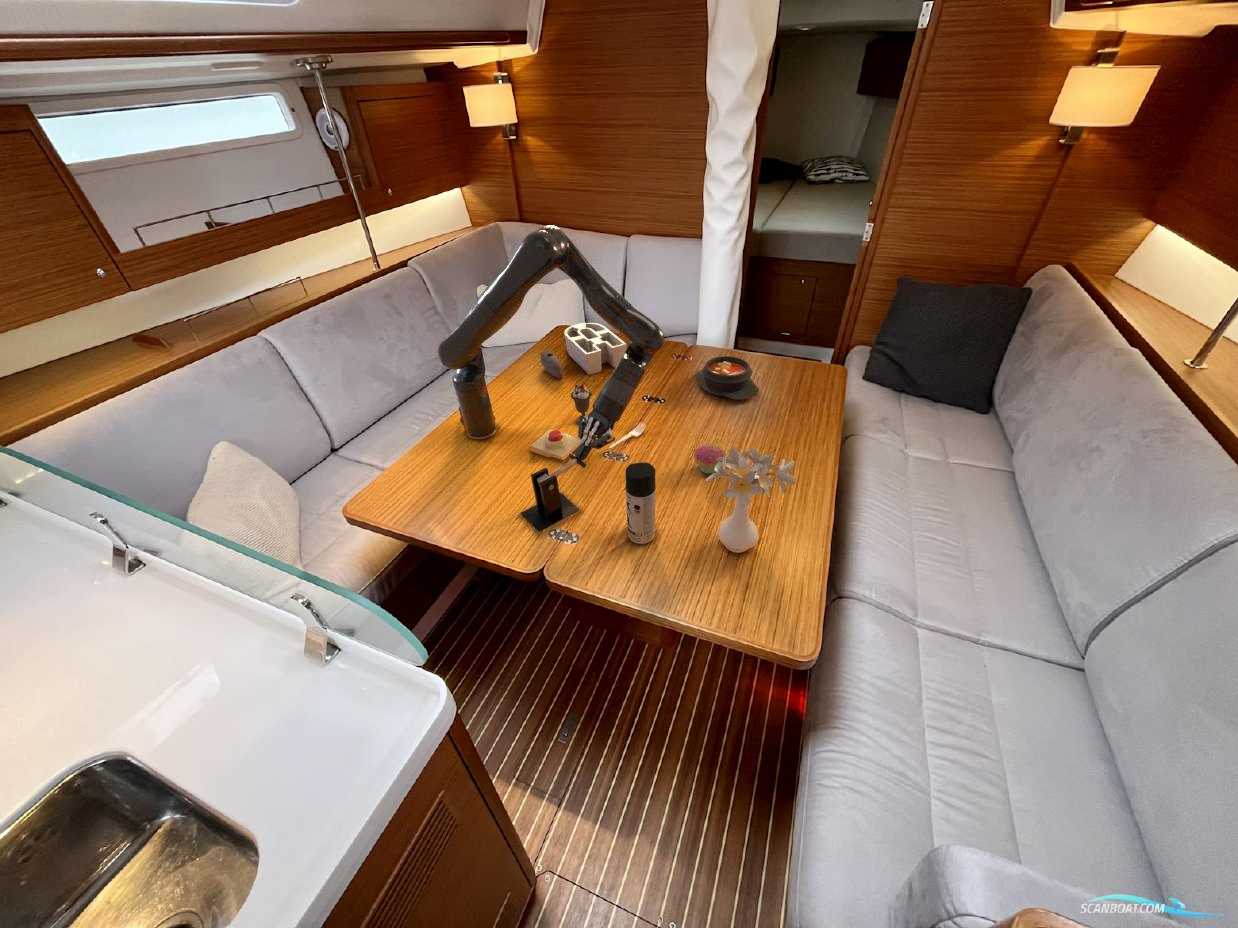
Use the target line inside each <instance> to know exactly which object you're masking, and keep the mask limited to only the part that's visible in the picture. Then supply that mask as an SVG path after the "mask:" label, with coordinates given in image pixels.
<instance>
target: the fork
mask: <svg viewBox="0 0 1238 928" xmlns="http://www.w3.org/2000/svg"><path fill="white" fill-rule="evenodd" d="M647 426H648V424H647V423H645V422H642V421H640V422H639V424H637V426H635V427H634V428H633V429H632V430H631V431H629V432H628V433H627V434H626V435H625V436H623V437H621V438H620V439H619V440H617V441H616V442H615V443H613V444H611V446H609V449H612V448H614V447H615V446H617V445H618V444H619V443H621V442H626V441H627V440H628V439H629V438H631V437H636V438H637V437H639V436H640V435H642V433H643V432H644V431H645V429H646V427H647Z"/></svg>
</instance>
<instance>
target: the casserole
mask: <svg viewBox="0 0 1238 928" xmlns="http://www.w3.org/2000/svg"><path fill="white" fill-rule="evenodd" d="M750 365H751V364H749V362H748V361H746V360H745V359H743V358H741V357H738V356H737V357H736V356H729V355H727V356H726V355H722V356H715V357H712V358H711V359H708V360H707V361H706V363H705V364H704V366H703V367H702V369H700V370H698V371H697V372H696V373H695V374H694V378H695V380H697V382H698V384H699V387H700V388H701V389H702V390H703V391H705V392H707V393H708V394H712V395H714V396H715V395H716V396H721V397H725V398H728V399H731V400H733V401H734V400H735V401H738V400H739V401H740V400H741V401H742V400H747V399H750V398H753V397H754V396H756V395H757V394H759V392H760V388H759V387H758V386H757V385H756V384H755V382H754V381H753V380H752V378H751V377H752V376H753V370H752V368H751V366H750Z"/></svg>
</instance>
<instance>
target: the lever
mask: <svg viewBox="0 0 1238 928" xmlns="http://www.w3.org/2000/svg"><path fill="white" fill-rule="evenodd" d="M568 457H569V458H570V459H571V460H570V461H568V462H567V463H566V464H564V465H563V466H561V467H559V468H558V469H556V470H555V471H553V472H551V474H550V473H549V476H548V475H547V474H546V473H545V474H544V475H542V476H540V477H539V478H537V479H536V480H537V482H538V485H539V483H540V482H542V481H544V480H546V479H548V478H550V477H552V476H554V475H555V476H556V477H557V478H558V477H559V476H562V475H563V474H564V473H566V472H567V471H569V470H570V469H572V468H573V467H575V466H576V465H577V464H578V465H579V466H580V467H581V468H582V469H585V468H586V467H587V463H586V462H584V460H580V459H578V458H577V457H576V456H575V454H574V453H573V452H572V453H570V454H569V455H568ZM539 486H540V485H539Z"/></svg>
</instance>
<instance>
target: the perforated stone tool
mask: <svg viewBox="0 0 1238 928" xmlns="http://www.w3.org/2000/svg"><path fill="white" fill-rule="evenodd" d="M540 363H541V365H542V368H544V369H545V371H546V372H547V373H548V374H550V375H551V376H552V377H554V378H556V379H559V380H561V379H563V377H564V369H563V366H562V364H561V362H560V361H559V358H557V357H556V355H555V354H554V353H553V352H552V351H549V350H543V351H542V352H540Z"/></svg>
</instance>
